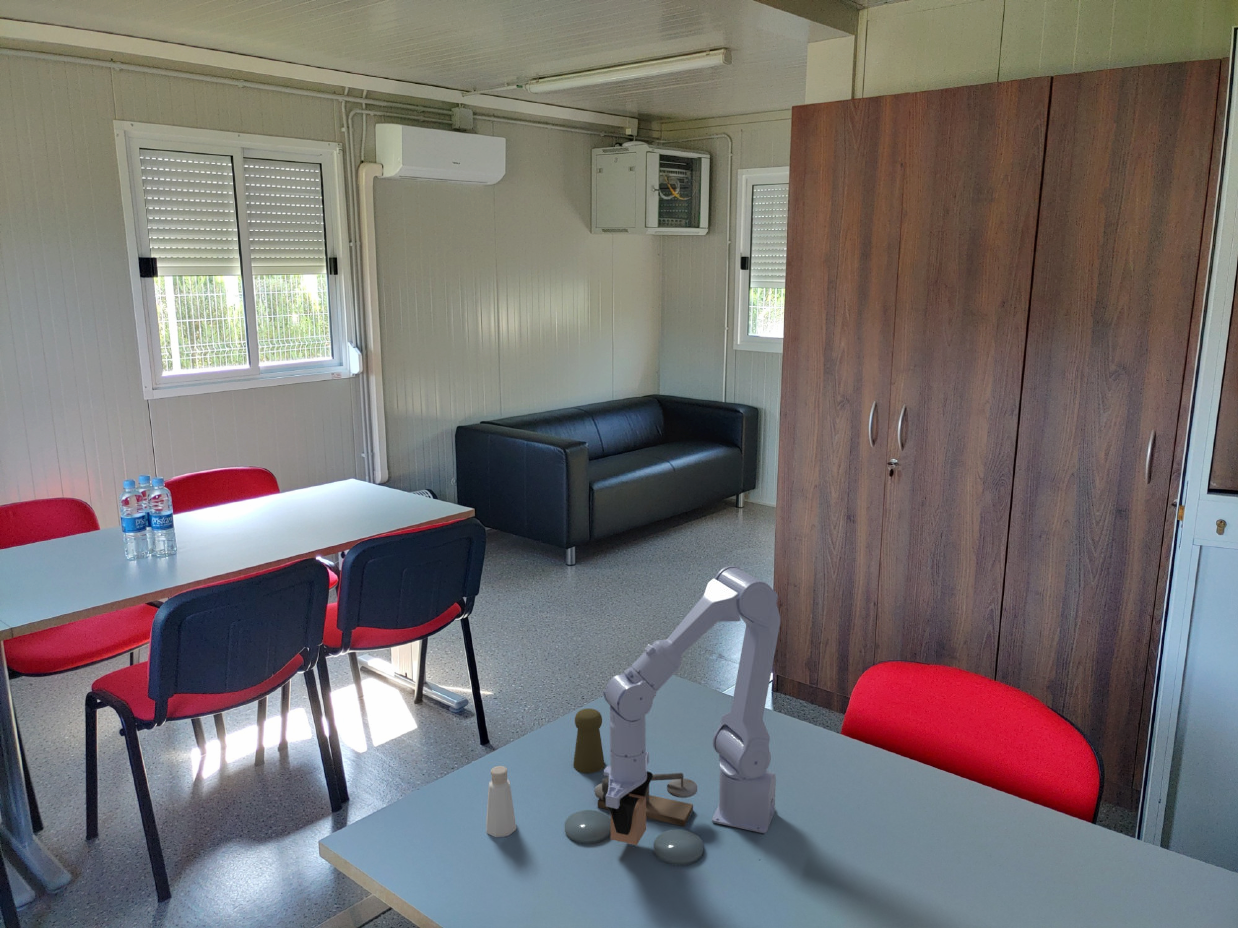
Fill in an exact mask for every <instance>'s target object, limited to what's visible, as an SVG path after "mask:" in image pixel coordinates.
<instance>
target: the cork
mask: <svg viewBox="0 0 1238 928" xmlns="http://www.w3.org/2000/svg"><path fill="white" fill-rule="evenodd" d="M602 723H603V718H602V714H601V712H600V711H599V710H597V709H595V708H589V707H588V708H583V709H580V710H578V712H577V713H576V714H575V717H574V724H575V727H576V729H577V732H576V740H575V748H574V756H573V764H572V765H573V768H574V769H575V770H576V771H578V772H580V773H583V774H592V773H593V774H594V773H597V772H600V771H602V770H603V769H605V768H604V767H606V766H605V756H604V750H603V743H602V738H601V731H600V729H601V727H602V725H603V724H602Z"/></svg>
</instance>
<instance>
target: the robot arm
mask: <svg viewBox="0 0 1238 928" xmlns="http://www.w3.org/2000/svg"><path fill="white" fill-rule="evenodd" d="M778 597H779V595H778V593H777V592H776V591H775V590H774V588H772V587H771V586H770V585H769V584H768V583H767V582H765V581H762V580H760V579H758V578H756V577H754V576H753V575H751V574H749V573H747V572H745V570H743V569H741V568H740V567H738V566H736V565H728V566H725V567H723V568H722V569H720V570H719V571H718V573H716V575H715V577H714V578H712V579H710V580H709V582H708V583H706V587H705V590H704V593H703V595H702V597H701V598H700V599H699V601H698V602H697V603H696V604H695V605H694V606H693V608H692V609H691V610H690V611H689V612H688V614H687V615H686V616H685V617H684V618H683V620H682V621H680V623H679V624H678V625H677V626H676V627H675V629H674V630H673V631H672V633H671V634H670V635H669V636H668V637H667V638H666V639H658V640H654V641H653V642H652V644H647V646H646V647H644V649H643V650H644V652H643V653H642V654H641V655H639V657H638V658H637V659H636V660H635V661H634V662H633V663H632V664H631V666H629V667H627V668H626V669H625V670H624V672H622V673H619V674H617V675H614V676H613V677H611V679H609V681H608V682H607V685H606V688H605V689H604V690H602V695H603V698H604V700H605V702H606V703H607V704H608V705H609V752H610V753H609V754H610V757H609V758H610V759H609V761H610V764H609V765H607V766H605V768H604V770H603V775H604V776H605V777H609V786H608V789H606V791H605V792H604V794H603V802H604V803H605V804H606V807H608V809H609V810H608V809H607V810H608V811H609V813H611V816H612V819H613V822H614V826H615V829H616V832H617V833H620V834H625V835H628V834H629V832H630V829H631V824H632V816H633V811H634V808H635V805H636V803H637V801H638V799H639V798H635V797H631V796H629V794H628V793H630V794H634V795H639V796H644V797H645V794H646V791H647V788H648V786H649V787H650V783H651V782H652V781H651V780H652V778H653V772H651V771H648V764H649V763H650V762H649V761H650V753H649V752H648V751H647V748H646V745H647V743H646V740H647V739H646V732H647V731H646V730H647V729H646V728H647V727H646V724H647V723H646V715H647V714H649V712H650V711H651V709H652V706H653V703H654V699H655V698H656V696H657V693H658V691H659V690H660V689H661V688H662V687H663V686H664V685H665V684H666V683H667V682H668V680H669V679H671V678H672V676H673V675H674V674H676V672H677V671H678V670H679V669H680V668H681V667H682V662H683V661H682V660H683V659H682V657H683V654H684V653H686V652H687V651H688V650H689V649H690V648H691V647H692V646H693V645H694V644H695V643H697V642H698V641H699V640H700V639H701V638H702V637H703V636H704V635H705V634H706V633H707V632H709V631H710V630H711V629H712V628H713V627H714V626H715V625H716V624H718V623H720V622H740V621H741V620H743V622H744V623H745V631H744V635H743V640H742V647H741V652H740V658H739V663H738V669H737V674H736V678H735V679H736V680H735V684H734V685H735V686H734V692H733V697H732V703H731V709H730V710H729V712H726V713H724V714H722V715H721V718H720V723H719V726H718V727H717V729H716V731H715V732H714V734H713V738H712V746H713V749H714V751H715V752H716V753H717V754H718V755H719V756H718V759H719V760H718V761H719V789H718V790H719V791H718V792H719V794H718V795H719V797H718V806H717V808H716V809H715V812H714V814H713V816H712V817H711V822H712V823H714V824H719V825H724V826H727V827H728V826H729V827H732V828H733V827H734V828H737V829H742V830H747V831H752V832H756V833H760V834H767V832H768V829H769V827H770V825H771V821H772V819H773V818H774V814H775V811H776V786H777V785H776V784H777V783H776V781H777V779H776V774H775V773H773V772H771V771H770V770H769V771H768V769H769V767H770V764H771V758H772V756H771V755H772V754H771V752H770V751H771V750H770V741H771V738H770V735H769V732H768V729H767V727H766V725H765V722H764V719H763V718H764V714H765V708H766V703H767V697H768V692H769V687H770V682H771V681H770V680H771V676H772V675H771V674H772V670H773V666H774V660H775V653H776V649H777V643H778V637H779V633H780V627H781V615H780V612H779V607H778V604H777V602H778ZM741 622H742V621H741Z"/></svg>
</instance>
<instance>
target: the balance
mask: <svg viewBox="0 0 1238 928" xmlns="http://www.w3.org/2000/svg"><path fill="white" fill-rule="evenodd" d="M652 774H653V773H652ZM652 781H669V782H668V783H667V785H666V791H667V793H668V794H669V795H671V796H673V797H676V798H682V799H683V798H685V799H686V798H690V797H693V796H695V795H696V794H697V792H698V785H697V783H696V782H695V781H693V780H691V779H689V778H684V773H683V772H675V773H674V772H673V773H657V774H653V778H652V780H651V781H650V782H652ZM608 786H609V776H605V777H604V778H603V779H602V780H601V783H599V784H597V785H596V786H595V788H594V795H595V796H596V798H598V799H597V808H600V809H605V810H608V811H609V809H608V807H606V804H605V803H604V802H603V794H604V792H605V791H606V789H608ZM645 797H646V819H650V820H655V821H660V822H663V823H668V824H672V825H677V826H682V827H685V826H686V824H687V822H688V821H689V819H690V817H691V816H692V814H693V811H694V804H693V803H689V802H685V801H679V800H676V799H675V800H673V799H669V798H665V797H661V796H656V795H650V785H649V786H648V788H647V791H646V794H645Z"/></svg>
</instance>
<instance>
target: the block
mask: <svg viewBox="0 0 1238 928" xmlns="http://www.w3.org/2000/svg"><path fill="white" fill-rule="evenodd" d="M628 794H629V796H631V797H635V798H639V799H638V801H637V803H636V805H635V808H634V811H633V816H632V824H631V829H630V832H629V834H628V835H625V834H620V833H617V832H616V829H615V826H614V822H613V819H612V816H611V813H610V812H609V813H610V816H609V817H610V819H611V834H610V840H612V841H617V842H621V843H626V844H629V845H633V846H637V845H638V844H639V842H640V840H641V839H642V837H643V835H644V834H645V832H646V830H647V818H646V797H644V796H639V795H634V794H630V793H628Z"/></svg>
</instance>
